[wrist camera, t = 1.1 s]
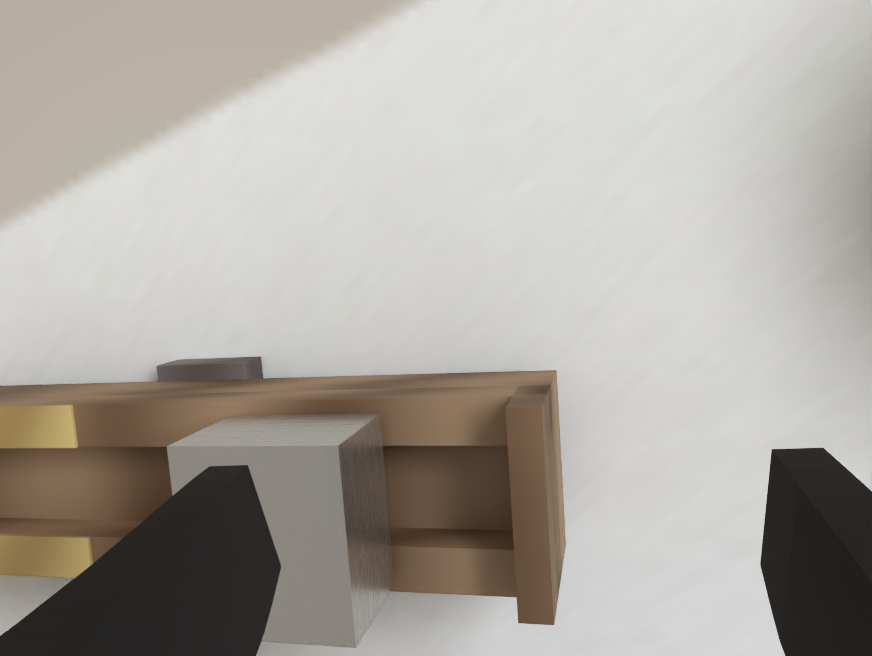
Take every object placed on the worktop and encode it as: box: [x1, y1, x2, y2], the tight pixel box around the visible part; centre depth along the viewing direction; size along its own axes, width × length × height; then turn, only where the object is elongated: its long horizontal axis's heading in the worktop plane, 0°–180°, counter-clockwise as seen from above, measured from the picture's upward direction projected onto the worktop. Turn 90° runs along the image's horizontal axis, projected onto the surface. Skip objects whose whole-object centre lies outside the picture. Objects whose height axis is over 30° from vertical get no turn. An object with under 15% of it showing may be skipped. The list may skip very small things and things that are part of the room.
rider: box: [167, 413, 394, 648], centre depth 18 cm, size 4×4×4 cm
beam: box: [0, 357, 566, 625], centre depth 21 cm, size 22×6×6 cm, turn 94°
